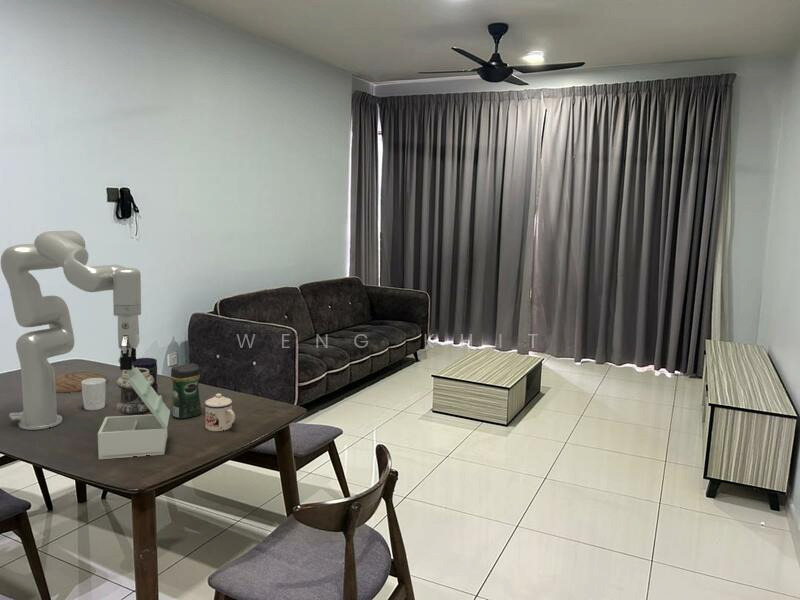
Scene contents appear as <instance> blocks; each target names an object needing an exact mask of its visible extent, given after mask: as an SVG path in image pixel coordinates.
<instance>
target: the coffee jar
mask: <svg viewBox="0 0 800 600" xmlns="http://www.w3.org/2000/svg"><path fill="white" fill-rule="evenodd" d="M170 372H171V373H170V380H171V381H172V401H171V402H172V403H171V416H172V417H173V418H175V419H181V420H182V419H188V418H193V417H196V416H199V415H200V414H201V413H202V406H201V399H200V392H199V390H200V389H199V380H200V377H201V372H200V367H199V365H198V364H196V363H193V362H192V363H186V364H182V365H175V366H172V367H171V369H170Z"/></svg>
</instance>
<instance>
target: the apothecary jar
mask: <svg viewBox="0 0 800 600" xmlns="http://www.w3.org/2000/svg"><path fill="white" fill-rule="evenodd" d="M138 369H139V371H140V372H141V373H142V375H143V376H144V377H145V379H146V380H147V381H149V380H150V381H151V383H150V385H151V386H152V385H153V384H154V378H153V377H152V376H151V375H150V373H149V370H148V369H146V368H138ZM121 371H122V372H121V376H120V377H118V379H117V380H116V385H117V387H118V388H119V389H120V400H119V401H118V402H117V404H116V409H117V411H118V412H119V413H121V414H123V415H124V416H132V415H146V414H147V413H149V412H151V411H150V410H149V408H148V407H147V406H146V404H145V403H144V402H143V401H142V399H141V398H140V397H139V395H138V394H137V393H136V391H135V390H134V389H133V388H132V386H131V385H130V384H129V382H128V380H129V378H130V376H129V375H128V373H127V372H126V371H125V370H121Z"/></svg>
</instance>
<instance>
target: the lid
mask: <svg viewBox="0 0 800 600" xmlns="http://www.w3.org/2000/svg"><path fill="white" fill-rule="evenodd" d="M117 362H118V363H119V364H120V357H118V360H117ZM125 371H126V372H127V373H128V375H129V376H130V378H129V380H128V382H129V384H130V385H131V386H132V388H133V389H134V390H135V391H136V393H137V394H138V395H139V397H140V398H141V399H142V401H143V402H144V403H145V404H146V406H147V407H148V408H149V410H150V412H151V413H152V414H153V415H154V416H155V417H156V419H157V420H158V421H159V423H160V424H161V425H162V427H163V428H164V429H165V428H166V427H167V428H168V426H169V419H170V414H171V410H170V409H169V408H168V406H167V405H166V404H165V403H164V401H163V396H162V395H161V394H160V395H159V394H158V392H157V393H156V392H155V391H154V389H153V388H152V387H151V385H150V383H151V381H150V380H149V381H147V380H146V379H145V377H144V376H143V375H142V373H141V372H140V371H139V369H138V368H137V367H136V368H134V366H133V365H132V370H125Z"/></svg>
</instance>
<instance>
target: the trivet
mask: <svg viewBox="0 0 800 600" xmlns="http://www.w3.org/2000/svg"><path fill="white" fill-rule="evenodd" d="M90 378H103V379H105V380H106V384H108V376H107V375H106V374H104V373H99V372H93V371H74V372H65V373H59V374H55V385H56V393H68V394H72V393H71V392H79V393H82V392H81V391H82V384H81V382H82V381H83V380H86V379H90Z"/></svg>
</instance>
